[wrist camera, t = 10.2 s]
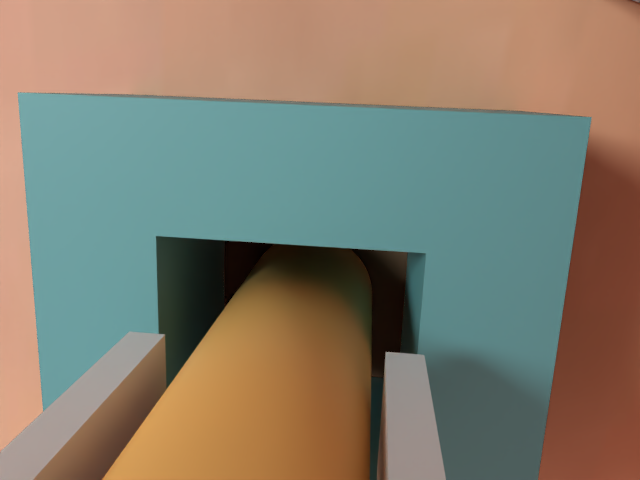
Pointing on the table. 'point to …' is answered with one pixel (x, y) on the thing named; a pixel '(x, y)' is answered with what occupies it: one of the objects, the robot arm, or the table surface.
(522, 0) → the table surface
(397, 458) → the robot arm
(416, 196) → the socket
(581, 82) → the table surface
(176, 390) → the pin
